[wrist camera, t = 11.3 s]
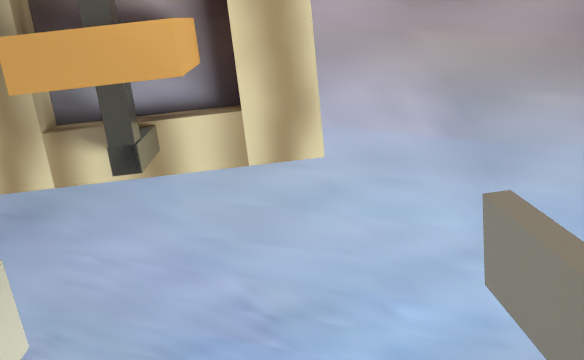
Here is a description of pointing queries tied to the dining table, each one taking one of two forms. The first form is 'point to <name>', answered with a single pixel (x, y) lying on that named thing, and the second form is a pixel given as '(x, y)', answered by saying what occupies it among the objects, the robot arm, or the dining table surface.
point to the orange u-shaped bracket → (98, 55)
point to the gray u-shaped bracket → (120, 107)
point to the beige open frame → (186, 124)
